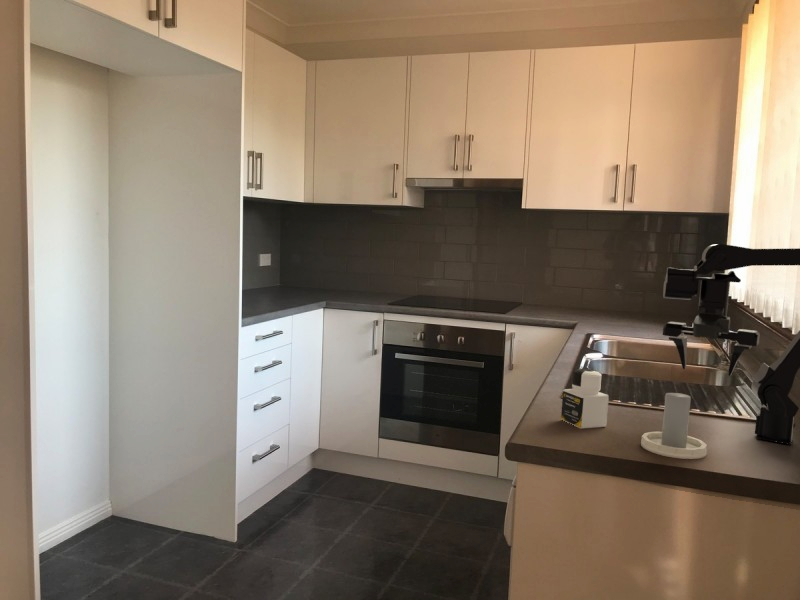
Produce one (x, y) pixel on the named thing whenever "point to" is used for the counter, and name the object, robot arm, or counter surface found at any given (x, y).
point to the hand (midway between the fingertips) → (706, 372)
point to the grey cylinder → (675, 420)
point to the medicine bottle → (585, 401)
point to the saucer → (692, 450)
